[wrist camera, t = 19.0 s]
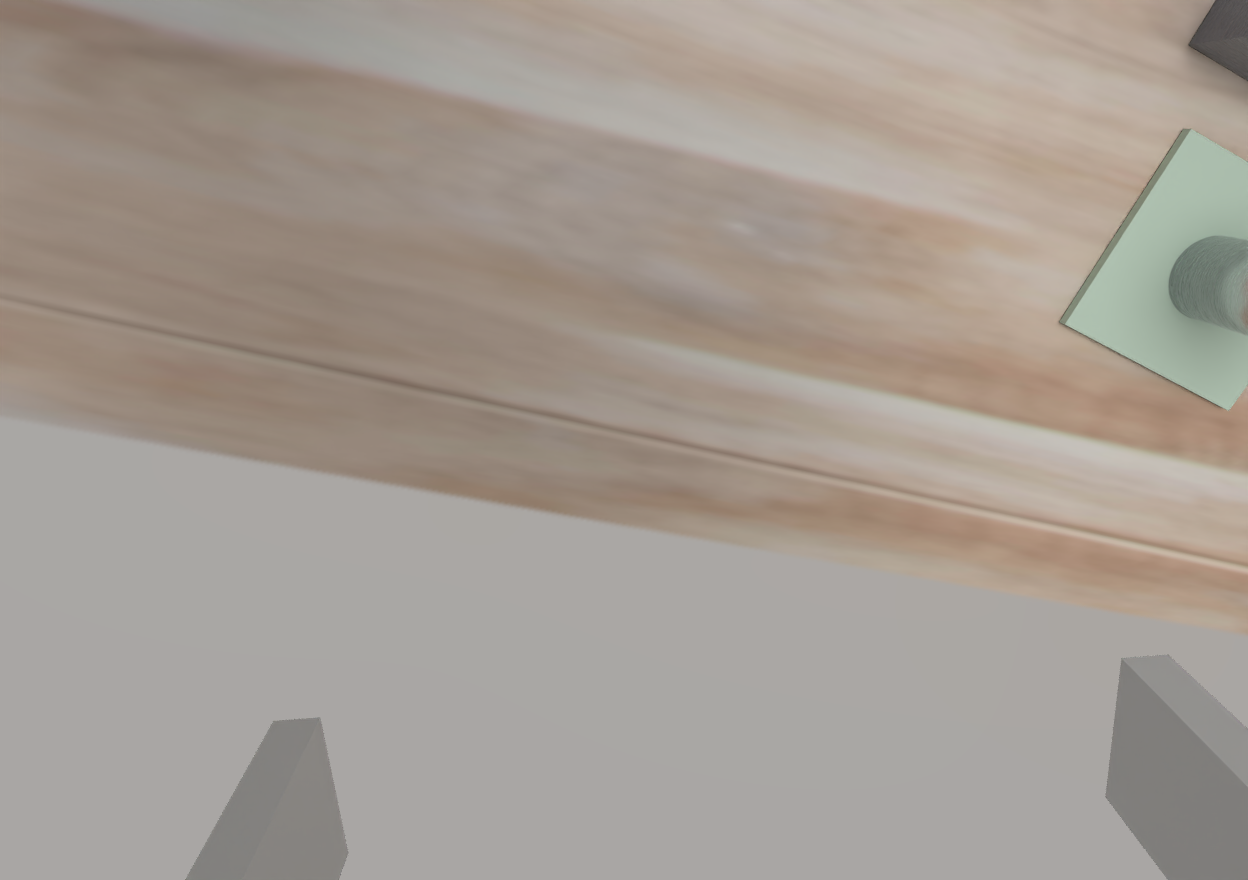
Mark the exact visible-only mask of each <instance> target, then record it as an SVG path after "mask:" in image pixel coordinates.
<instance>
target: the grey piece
mask: <svg viewBox="0 0 1248 880" xmlns="http://www.w3.org/2000/svg"><path fill="white" fill-rule="evenodd" d="M1168 288H1169V295H1170V298H1171V301H1172V303H1173V304H1174V306H1175V307H1176V308H1177V310H1179V311H1180V312H1181V313H1182V314H1184V315H1185V316H1188V317H1190V318H1193V319H1196V320H1199V321H1203V322H1206V323H1209V324H1212V325H1215V326H1218V327H1222V328H1225V329H1228V330H1231V331H1234V332H1238V333H1241V334H1244V335H1247V336H1248V240H1246V239H1240V238H1234V237H1228V236H1210V237H1206V238H1203V239H1201V240H1199V241H1197V242H1195V243H1193V244H1192V245H1190V246H1189V247H1188V248H1187V249H1185V250H1184V251H1183V253H1182V254H1181V255H1180V256H1179V257H1178V259H1177V260H1176V262H1175V263H1174V265H1173V268H1172V270H1171V273H1170V277H1169V284H1168Z"/></svg>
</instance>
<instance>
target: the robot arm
mask: <svg viewBox="0 0 1248 880" xmlns="http://www.w3.org/2000/svg"><path fill="white" fill-rule="evenodd" d="M1119 676H1120V677H1119V685H1118V693H1117V701H1116V711H1115V719H1114V727H1113V737H1112V745H1111V753H1110V762H1109V771H1108V779H1107V788H1106V798H1107V800H1108V801H1109V802H1110V804H1111V805H1112V806H1113V808H1114V809H1115V810H1116V811H1117V813H1118V814H1119V815H1120V817H1121V818H1122V820H1123V821H1124V822H1125V824H1126V825H1127V826H1128V828H1129V829H1130V830H1131V831H1132V833H1133V834H1134V835H1135V837H1136V838H1137V839H1138V841H1139V842H1140V844H1141V845H1142V846H1143V848H1144V849H1145V850H1146V851H1147V853H1148V854H1149V855H1150V856H1151V858H1152V859H1153V861H1154V862H1155V863H1156V865H1157V866H1158V867H1159V869H1160V870H1161V871H1162V873H1163V874H1164V875H1165V877H1166V878H1167V879H1168V880H1248V728H1247V727H1246V726H1244V725H1243V724H1242V723H1241V722H1240V721H1239V720H1238V719H1237V718H1236V717H1235V716H1234V715H1233V714H1231V713H1230V712H1229V711H1228V710H1227V709H1226V708H1225V707H1224V706H1223V705H1222V704H1221V703H1220V702H1218V700H1217V699H1215V698H1214V697H1213V696H1212V695H1211V694H1210V693H1209V692H1208V691H1207V690H1206V689H1205V688H1204V687H1203V686H1201V685H1200V684H1199V683H1198V682H1197V681H1196V680H1195V679H1194V678H1193V677H1192V676H1191V675H1190V674H1189V673H1187V672H1186V671H1185V670H1184V669H1183V668H1182V667H1181V666H1180V665H1179V664H1178V663H1177V662H1176V661H1175V660H1174V659H1172V658H1171V657H1170V656H1169V655H1159V656H1158V655H1157V656H1144V657H1131V658H1122V659H1121V667H1120V675H1119ZM347 855H348V849H347V844H346V840H345V835H344V830H343V825H342V821H341V815H340V811H339V806H338V801H337V796H336V791H335V786H334V782H333V777H332V772H331V767H330V763H329V758H328V753H327V748H326V743H325V738H324V733H323V729H322V724H321V719H320V718H308V719H294V720H282V721H273V723H272V725H271V727H270V728H269V730H268V732H267V734H266V736H265V738H264V739H263V741H262V743H261V745H260V747H259V748H258V750H257V752H256V754H255V755H254V757H253V759H252V761H251V763H250V764H249V766H248V768H247V770H246V772H245V773H244V775H243V777H242V779H241V781H240V782H239V784H238V786H237V788H236V790H235V791H234V793H233V795H232V797H231V799H230V800H229V802H228V804H227V806H226V807H225V810H224V811H223V813H222V815H221V817H220V818H219V820H218V822H217V824H216V826H215V827H214V829H213V831H212V833H211V835H210V837H209V838H208V840H207V842H206V843H205V846H204V847H203V849H202V851H201V853H200V854H199V856H198V858H197V860H196V862H195V863H194V865H193V867H192V869H191V871H190V872H189V874H188V876H187V878H186V879H185V880H339V878H340V875H341V872H342V869H343V866H344V864H345V861H346V858H347Z"/></svg>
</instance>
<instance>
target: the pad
mask: <svg viewBox="0 0 1248 880" xmlns="http://www.w3.org/2000/svg"><path fill="white" fill-rule="evenodd" d="M1210 236H1228V237H1234V238H1240V239H1246V240H1248V162H1247V161H1245V160H1243V159H1242V158H1240V157H1238V156H1237V155H1235V154H1233V153H1231V152H1230V151H1228V150H1226V149H1225V148H1223V147H1221V146H1219V145H1218V144H1216V143H1214V142H1213V141H1211V140H1209V139H1207V138H1206V137H1204V136H1202V135H1201V134H1199V133H1197V132H1195V131H1194V130H1192V129H1183V130H1182V132H1181V134H1180V135H1179V137H1178V138H1177V140H1176V141H1175V143H1174V144H1173V146H1172V148H1171V149H1170V151H1169V152H1168V154H1167V155H1166V157H1165V158H1164V160H1163V161H1162V163H1161V165H1160V166H1159V168H1158V169H1157V171H1156V172H1155V174H1154V175H1153V177H1152V179H1151V180H1150V182H1149V183H1148V185H1147V186H1146V188H1145V189H1144V191H1143V193H1142V194H1141V196H1140V197H1139V199H1138V200H1137V202H1136V203H1135V205H1134V207H1133V208H1132V210H1131V211H1130V213H1129V214H1128V216H1127V217H1126V219H1125V221H1124V222H1123V224H1122V225H1121V227H1120V228H1119V230H1118V231H1117V233H1116V234H1115V236H1114V238H1113V239H1112V241H1111V242H1110V244H1109V245H1108V247H1107V248H1106V250H1105V252H1104V253H1103V255H1102V256H1101V258H1100V259H1099V261H1098V262H1097V264H1096V266H1095V267H1094V269H1093V270H1092V272H1091V273H1090V275H1089V276H1088V278H1087V280H1086V281H1085V283H1084V284H1083V286H1082V287H1081V289H1080V290H1079V292H1078V294H1077V295H1076V297H1075V298H1074V300H1073V301H1072V303H1071V304H1070V306H1069V308H1068V309H1067V311H1066V312H1065V314H1064V315H1063V317H1062V318H1061V320H1060V321H1059V322H1060V323H1062V324H1064V325H1066V326H1068V327H1070V328H1072V329H1074V330H1076V331H1077V332H1079V333H1081V334H1083V335H1085V336H1087V337H1089V338H1091V339H1093V340H1094V341H1096V342H1098V343H1100V344H1102V345H1104V346H1106V347H1108V348H1110V349H1112V350H1113V351H1115V352H1117V353H1119V354H1121V355H1123V356H1125V357H1127V358H1129V359H1130V360H1132V361H1134V362H1136V363H1138V364H1140V365H1142V366H1144V367H1146V368H1148V369H1149V370H1151V371H1153V372H1155V373H1157V374H1159V375H1161V376H1163V377H1165V378H1166V379H1168V380H1170V381H1172V382H1174V383H1176V384H1178V385H1180V386H1182V387H1184V388H1185V389H1187V390H1189V391H1191V392H1193V393H1195V394H1197V395H1199V396H1201V397H1202V398H1204V399H1206V400H1208V401H1210V402H1212V403H1214V404H1216V405H1218V406H1219V407H1221V408H1224V409H1226V410H1228V411H1229V410H1230V408H1231V407H1232V406H1233V404H1234V403H1235V401H1236V400H1237V399H1238V397H1239V396H1240V395H1241V393H1242V392H1243V390H1244V389H1245V388H1246V386H1247V385H1248V336H1247V335H1244V334H1241V333H1238V332H1234V331H1231V330H1228V329H1225V328H1222V327H1218V326H1215V325H1212V324H1209V323H1206V322H1203V321H1199V320H1196V319H1193V318H1190V317H1188V316H1185V315H1184V314H1182V313H1181V312H1180V311H1179V310H1177V308H1176V307H1175V306H1174V304H1173V303H1172V301H1171V298H1170V295H1169V288H1168V284H1169V277H1170V273H1171V270H1172V268H1173V265H1174V263H1175V262H1176V260H1177V259H1178V257H1179V256H1180V255H1181V254H1182V253H1183V251H1184V250H1185V249H1187V248H1188V247H1189V246H1190V245H1192V244H1193V243H1195V242H1197V241H1199V240H1201V239H1203V238H1206V237H1210Z"/></svg>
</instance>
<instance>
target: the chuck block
mask: <svg viewBox="0 0 1248 880" xmlns="http://www.w3.org/2000/svg"><path fill="white" fill-rule="evenodd" d="M1189 46H1191V47H1193V48H1194V49H1196V50H1198V51H1199V52H1201V53H1203V54H1204V55H1206V56H1208V57H1209V58H1211V59H1213V60H1214V61H1216V62H1218V63H1219V64H1221V65H1223V66H1224V67H1226V68H1227V69H1229V70H1231V71H1232V72H1234V73H1236V74H1237V75H1239V76H1241V77H1242V78H1244V79H1246V80H1247V81H1248V0H1216V2H1215V3H1214V5H1213V7H1212V8H1211V10H1210V11H1209V13H1208V15H1207V16H1206V18H1205V19H1204V21H1203V23H1202V24H1201V26H1200V27H1199V29H1198V30H1197V32H1196V34H1195V35H1194V37H1193V38H1192V40H1191V42H1190V43H1189Z"/></svg>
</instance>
